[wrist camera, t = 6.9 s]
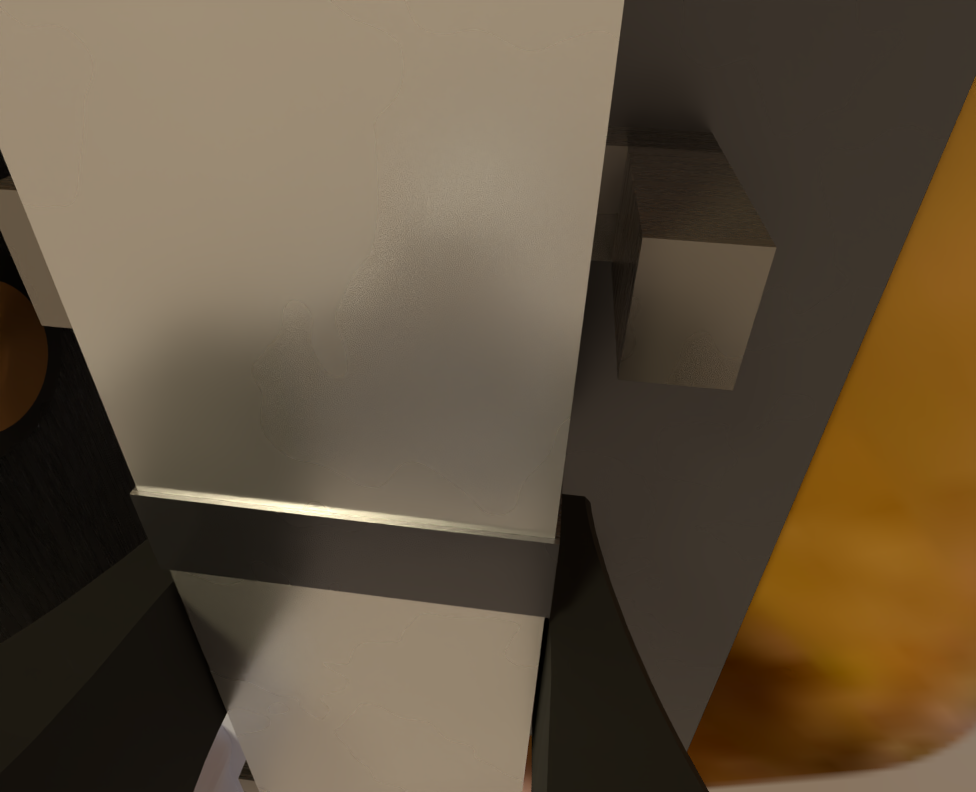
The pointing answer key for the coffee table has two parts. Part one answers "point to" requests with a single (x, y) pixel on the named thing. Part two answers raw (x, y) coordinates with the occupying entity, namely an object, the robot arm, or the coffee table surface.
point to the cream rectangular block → (332, 341)
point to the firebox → (619, 313)
